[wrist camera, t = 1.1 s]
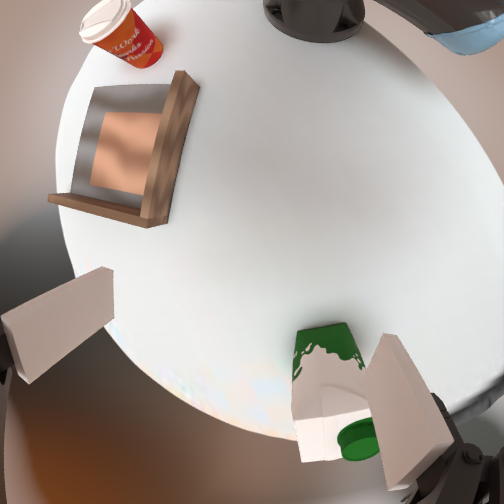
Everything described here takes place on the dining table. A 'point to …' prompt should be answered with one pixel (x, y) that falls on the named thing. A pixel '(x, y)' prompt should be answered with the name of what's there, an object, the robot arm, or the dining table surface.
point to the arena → (131, 151)
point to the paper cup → (121, 33)
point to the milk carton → (331, 397)
